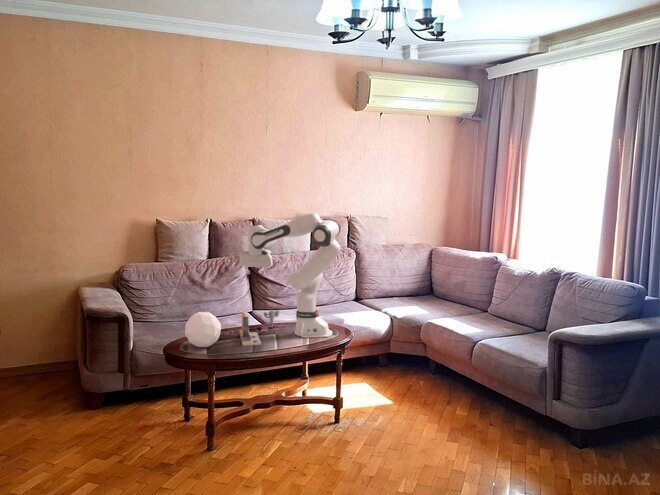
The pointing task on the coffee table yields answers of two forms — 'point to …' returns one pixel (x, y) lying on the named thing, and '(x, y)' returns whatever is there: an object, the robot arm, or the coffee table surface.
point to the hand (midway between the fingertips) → (256, 274)
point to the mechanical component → (271, 316)
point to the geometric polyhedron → (202, 329)
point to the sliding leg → (242, 322)
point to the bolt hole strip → (254, 339)
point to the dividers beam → (245, 332)
